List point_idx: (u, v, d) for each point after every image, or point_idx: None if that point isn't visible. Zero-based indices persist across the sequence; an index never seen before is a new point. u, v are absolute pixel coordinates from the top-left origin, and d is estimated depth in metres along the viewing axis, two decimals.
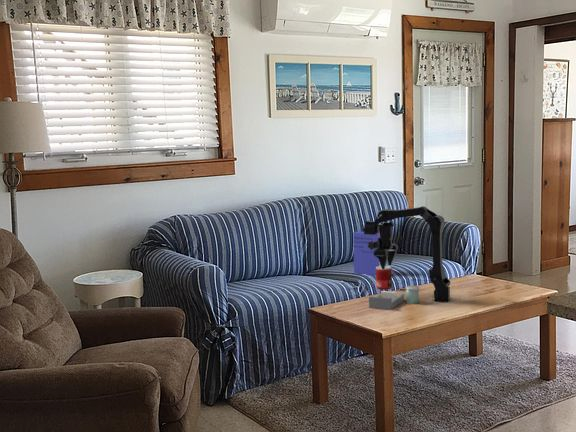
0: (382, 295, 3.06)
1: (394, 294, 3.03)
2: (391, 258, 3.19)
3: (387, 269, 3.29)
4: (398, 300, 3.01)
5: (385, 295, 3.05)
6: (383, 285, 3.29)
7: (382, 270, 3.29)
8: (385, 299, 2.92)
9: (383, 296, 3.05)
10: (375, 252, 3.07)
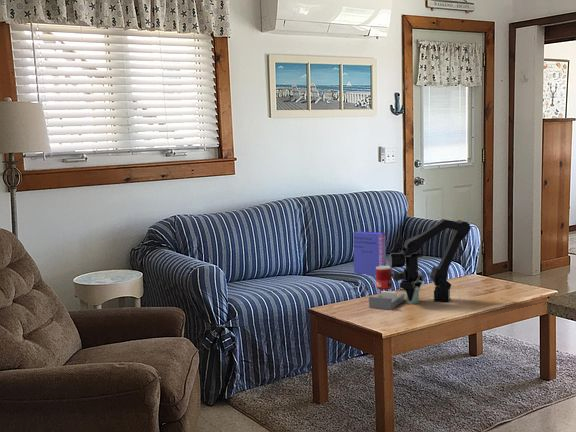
0: (382, 295, 3.06)
1: (394, 294, 3.03)
2: None
3: (387, 269, 3.29)
4: (398, 300, 3.01)
5: (385, 295, 3.05)
6: (383, 285, 3.29)
7: (382, 270, 3.29)
8: (385, 299, 2.92)
9: (383, 296, 3.05)
10: (401, 285, 2.95)
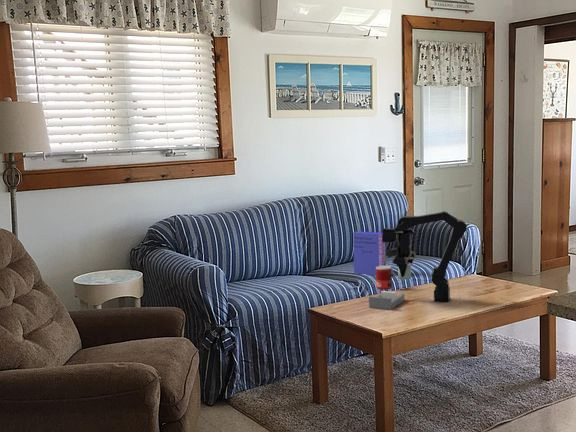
0: (382, 295, 3.06)
1: (394, 294, 3.03)
2: None
3: (387, 269, 3.29)
4: (398, 300, 3.01)
5: (385, 295, 3.05)
6: (383, 285, 3.29)
7: (382, 270, 3.29)
8: (385, 299, 2.92)
9: (383, 296, 3.05)
10: (394, 260, 2.99)
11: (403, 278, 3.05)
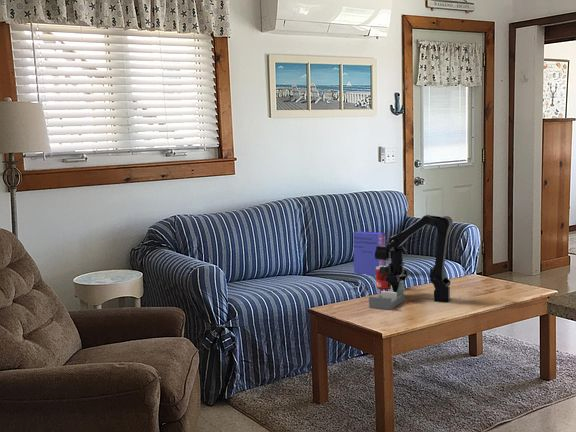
0: (382, 295, 3.06)
1: (394, 294, 3.03)
2: None
3: None
4: (398, 300, 3.01)
5: (385, 295, 3.05)
6: (383, 285, 3.29)
7: None
8: (385, 299, 2.92)
9: (383, 296, 3.05)
10: (386, 278, 3.07)
11: None
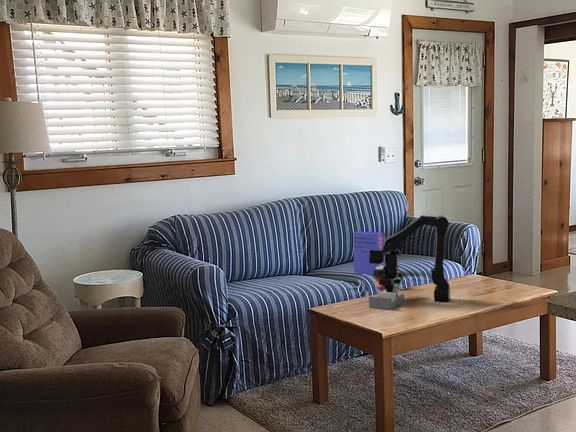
0: (381, 296, 3.05)
1: (393, 295, 3.02)
2: None
3: None
4: (398, 300, 3.01)
5: (384, 296, 3.04)
6: None
7: None
8: (385, 299, 2.92)
9: (382, 297, 3.04)
10: (380, 281, 3.00)
11: None
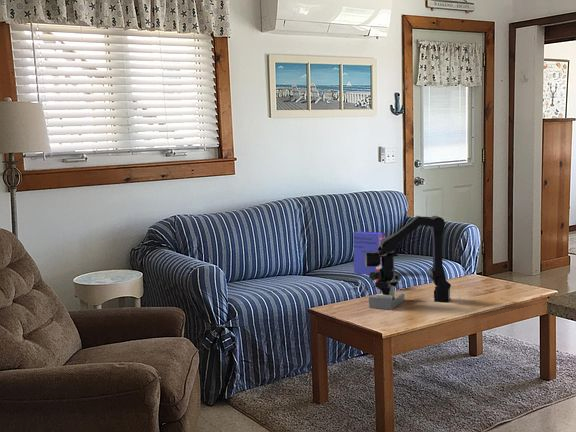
0: None
1: (389, 297, 2.97)
2: None
3: None
4: (398, 300, 3.01)
5: None
6: None
7: None
8: (385, 299, 2.92)
9: None
10: (377, 284, 2.96)
11: None
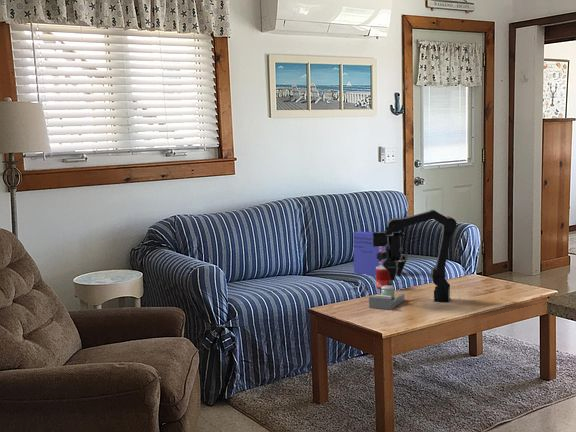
0: None
1: None
2: (400, 269, 3.09)
3: None
4: (398, 300, 3.01)
5: None
6: (383, 285, 3.29)
7: (382, 270, 3.29)
8: (385, 299, 2.92)
9: None
10: (385, 264, 2.97)
11: None
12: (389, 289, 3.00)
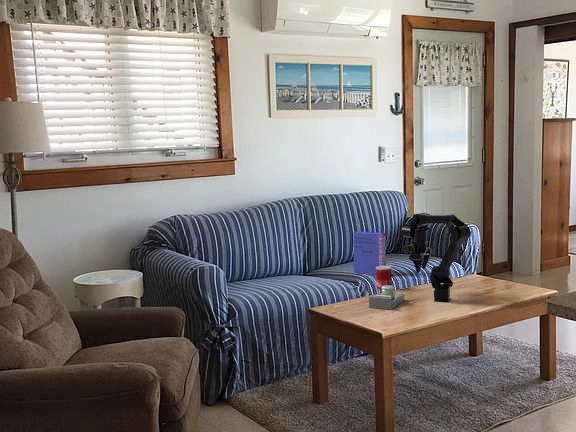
0: None
1: None
2: (425, 262, 3.18)
3: (387, 269, 3.29)
4: (398, 300, 3.01)
5: None
6: (383, 285, 3.29)
7: (382, 270, 3.29)
8: (385, 299, 2.92)
9: None
10: (411, 256, 3.06)
11: None
12: (389, 289, 3.00)
